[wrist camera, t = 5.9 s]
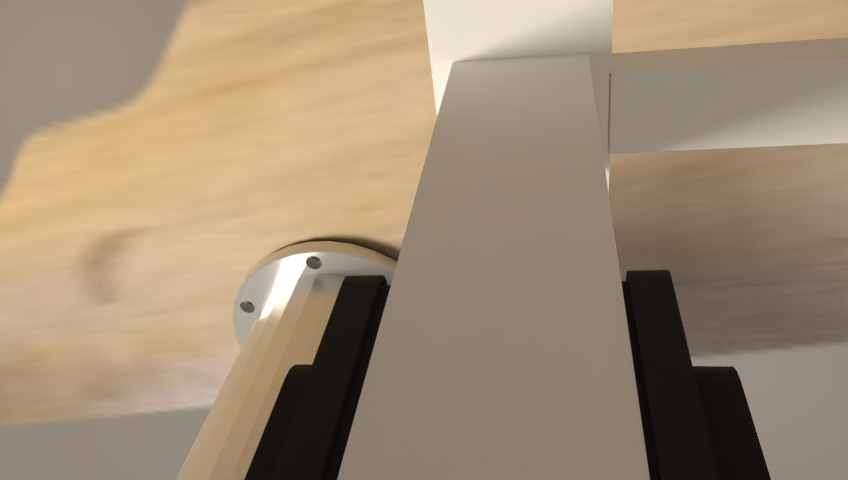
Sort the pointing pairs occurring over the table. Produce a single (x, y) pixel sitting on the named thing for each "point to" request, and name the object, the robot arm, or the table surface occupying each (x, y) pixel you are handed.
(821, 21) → the table surface
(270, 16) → the table surface
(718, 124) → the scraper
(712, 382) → the robot arm
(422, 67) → the table surface
